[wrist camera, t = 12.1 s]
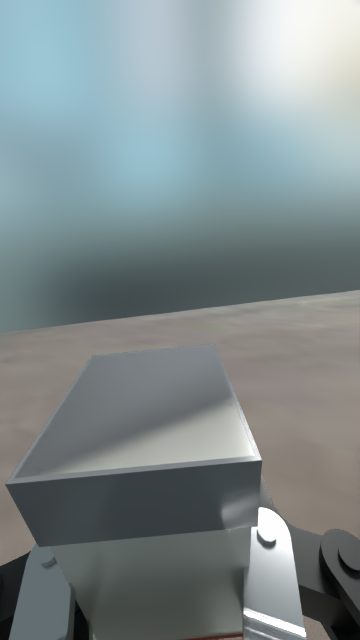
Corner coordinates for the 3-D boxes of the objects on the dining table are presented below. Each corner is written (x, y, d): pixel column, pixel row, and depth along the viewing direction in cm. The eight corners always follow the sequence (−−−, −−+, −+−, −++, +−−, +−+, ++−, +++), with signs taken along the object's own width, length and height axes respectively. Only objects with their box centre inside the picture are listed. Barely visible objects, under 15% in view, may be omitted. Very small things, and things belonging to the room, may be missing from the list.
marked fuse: (126, 709, 9) (4, 484, 4) (141, 550, 13) (91, 355, 8) (247, 698, 9) (262, 460, 4) (221, 542, 13) (215, 344, 8)
